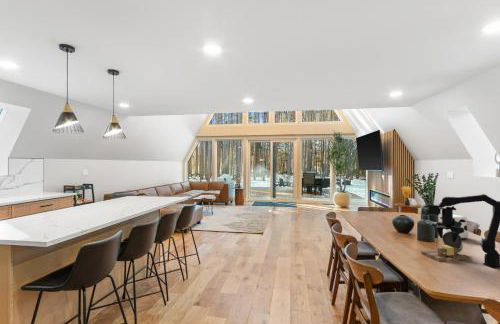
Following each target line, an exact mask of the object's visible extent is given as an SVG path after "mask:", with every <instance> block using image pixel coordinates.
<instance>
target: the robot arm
mask: <svg viewBox="0 0 500 324" xmlns="http://www.w3.org/2000/svg"><path fill="white" fill-rule="evenodd" d="M476 202H477V203H479V202H484V203H486V204H489V205H490V206H492V217H491V220H490V224H489V227H488V230H487V234H486V236H485V238H481V242H480V243H479V245H480V247H481V250H482V252H484V256H483V258H484V259H483V260H484V261H483V262H484V263H483V262H482V265H484V266H487V267H489V268H493V269H497V268H498V269H499V268H500V253H499V251H498V250H497V249H496V238H497V234H498V231H499V228H500V200H496V199H494V198H492V197H490V196H488V195H487V194H485V193H484V194H483V193H482V194H477V195H468V196H467V195H466V196H444V197H442V199H441V202H440V203H439V204H428V210H427V211H428V215H430V216H439V215H441V216H440V217H439V218H440V219H441V221H432V223H431V225H432V227H433V228H434V229H435V231H436V233H437V234H438V236H439V238H440V239H442V237H443V235H444V234H443V229H444V228H448V229H450V230H451V231H452V232H450V233H451V238H452V241H453V242H455V240H456V238H457V236H458V235H459V234H460V233H464V229H463V228H461V224H462V223H460V222H457V221H455V219H454V218H453V215H454V211H457V208H456V207H455V205H459V204H467V203H476ZM445 226H446V227H445ZM453 226H454V227H453Z"/></svg>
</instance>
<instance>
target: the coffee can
mask: <svg viewBox="0 0 500 324" xmlns="http://www.w3.org/2000/svg"><path fill="white" fill-rule="evenodd" d="M441 239H442V242H443V244H444V245H447V246H450V247H455V248H458V253H461V252H462V250H463V247H464V245H463V239H461V237H460V235H458V236H457V238H456V240H455V242H453V241H452V238H451V233H450V232H447V233H445V234H443V237H442V238H441Z"/></svg>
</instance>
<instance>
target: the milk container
mask: <svg viewBox="0 0 500 324" xmlns="http://www.w3.org/2000/svg"><path fill="white" fill-rule="evenodd" d="M453 218H454V219H455V221H457V222H460V223H462V224H461V228H463V229H464V233H460V234H459V235H460V237H461V239H462V240H463V239H467V238H468V237H469V229H468V217H467V216H465V215H460V214H453ZM445 227H446V226H445ZM453 227H454V226H453ZM447 232H452V231H451V230H450V229H448V228H444V229H443V235H444V234H445V233H447Z"/></svg>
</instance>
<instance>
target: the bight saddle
mask: <svg viewBox="0 0 500 324" xmlns="http://www.w3.org/2000/svg"><path fill="white" fill-rule="evenodd" d="M440 248H445V249H447V251H444V252H443V253H447V255H454V248H453V247H450V246H447V245H441V246H440Z"/></svg>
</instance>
